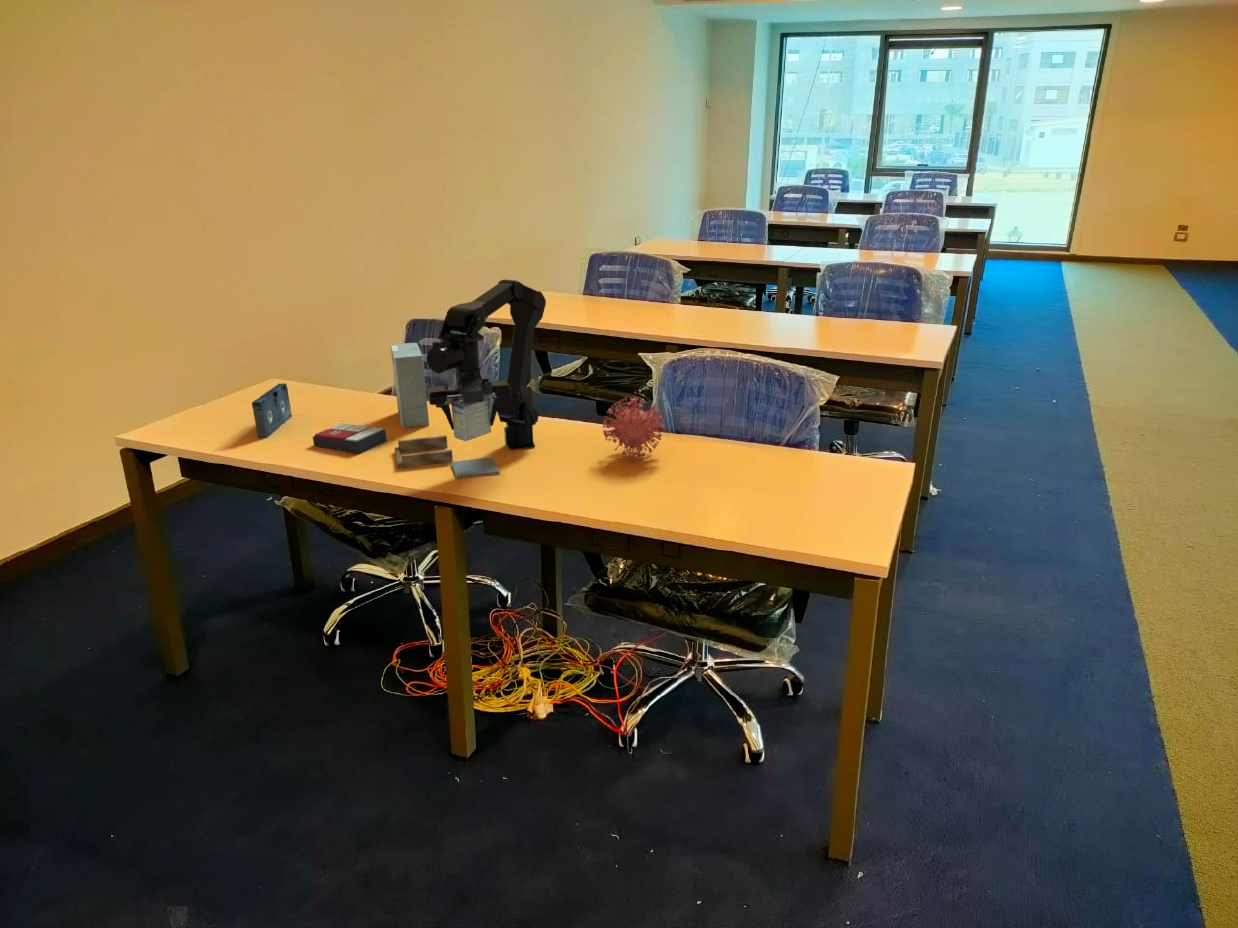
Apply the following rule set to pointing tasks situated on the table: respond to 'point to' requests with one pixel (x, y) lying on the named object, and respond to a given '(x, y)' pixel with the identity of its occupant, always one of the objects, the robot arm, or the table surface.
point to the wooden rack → (425, 457)
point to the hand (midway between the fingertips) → (472, 427)
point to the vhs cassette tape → (271, 410)
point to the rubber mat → (474, 467)
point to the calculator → (350, 438)
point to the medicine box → (471, 419)
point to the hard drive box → (410, 385)
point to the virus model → (633, 427)
